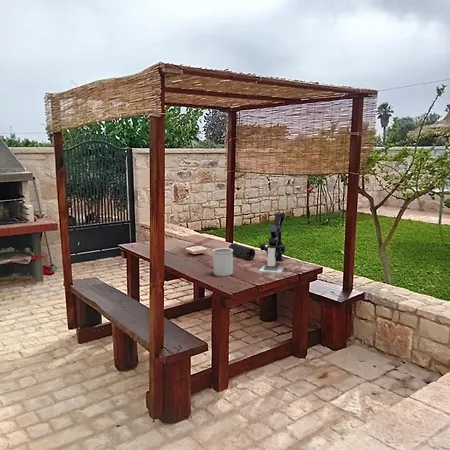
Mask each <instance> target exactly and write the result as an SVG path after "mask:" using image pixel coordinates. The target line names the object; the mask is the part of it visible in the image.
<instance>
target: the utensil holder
mask: <svg viewBox="0 0 450 450" xmlns="http://www.w3.org/2000/svg"><path fill="white" fill-rule="evenodd" d="M233 256H234V254H233V249H230V248H229V247H217V248H213V249H212V258H213V274H214V276H218V277H225V276H230V275H231V276H232V275H233V273H234V271H233V270H234V264H233V263H234V260H233V259H234V257H233Z"/></svg>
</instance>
